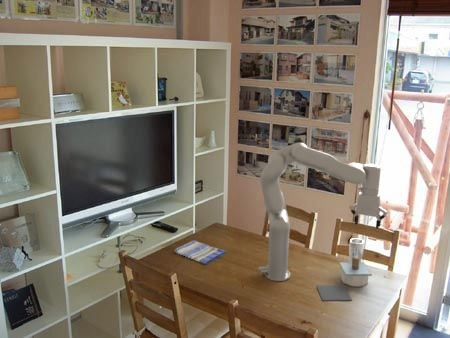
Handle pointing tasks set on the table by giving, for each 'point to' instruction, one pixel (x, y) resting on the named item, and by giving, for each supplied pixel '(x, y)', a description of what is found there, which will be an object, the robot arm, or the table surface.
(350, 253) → the beer glass
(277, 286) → the table surface
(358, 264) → the cover
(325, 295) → the mat
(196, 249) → the dish towel
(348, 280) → the bowl
